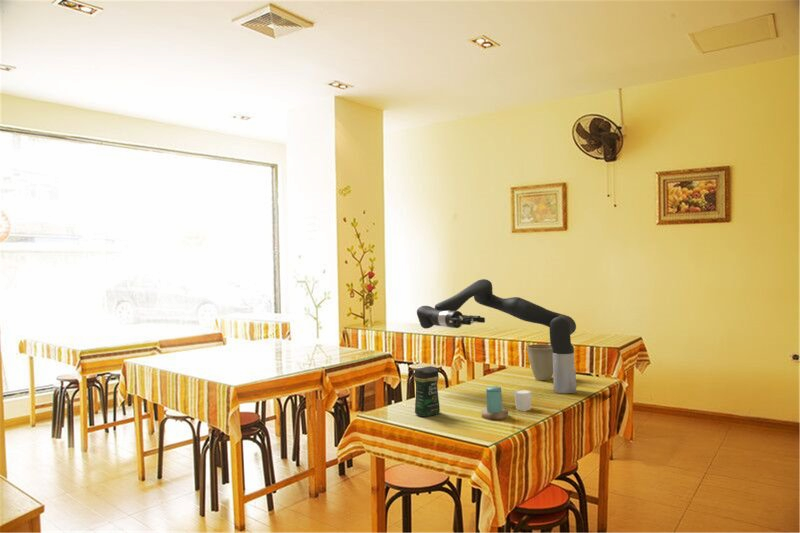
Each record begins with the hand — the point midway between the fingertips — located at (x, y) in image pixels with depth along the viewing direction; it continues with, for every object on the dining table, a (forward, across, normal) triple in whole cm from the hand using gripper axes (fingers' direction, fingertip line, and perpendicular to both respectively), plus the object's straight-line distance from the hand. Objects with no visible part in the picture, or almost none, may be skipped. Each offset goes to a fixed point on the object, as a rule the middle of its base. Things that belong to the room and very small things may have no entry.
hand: (477, 321), depth 242 cm
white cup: (+21, +2, +34) cm, 40 cm away
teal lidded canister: (+20, -14, +32) cm, 40 cm away
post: (+20, -14, +34) cm, 41 cm away
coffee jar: (-2, -29, +34) cm, 44 cm away
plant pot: (-5, +50, +34) cm, 61 cm away
